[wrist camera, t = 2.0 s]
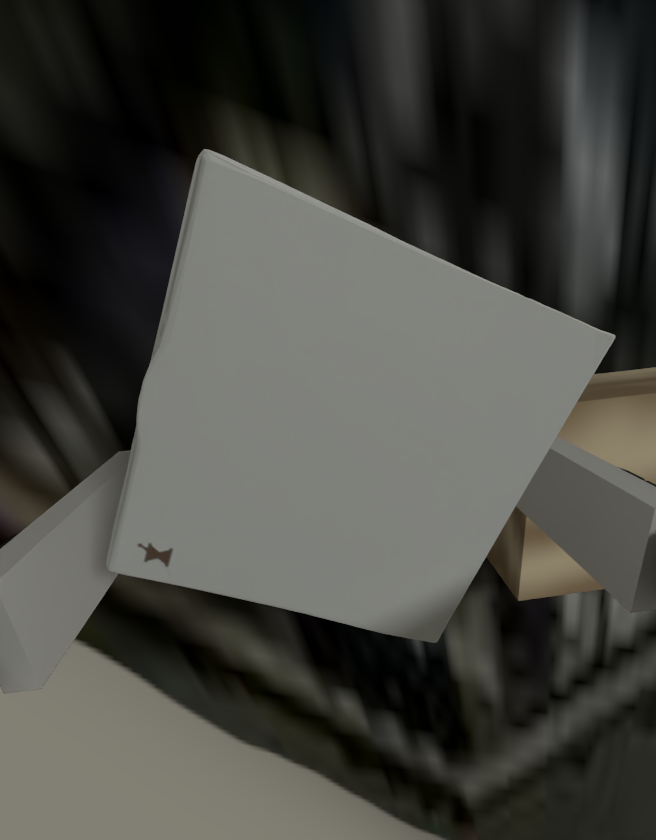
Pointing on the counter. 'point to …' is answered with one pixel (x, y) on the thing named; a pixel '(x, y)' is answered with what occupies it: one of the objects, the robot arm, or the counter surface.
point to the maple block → (608, 440)
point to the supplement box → (335, 412)
